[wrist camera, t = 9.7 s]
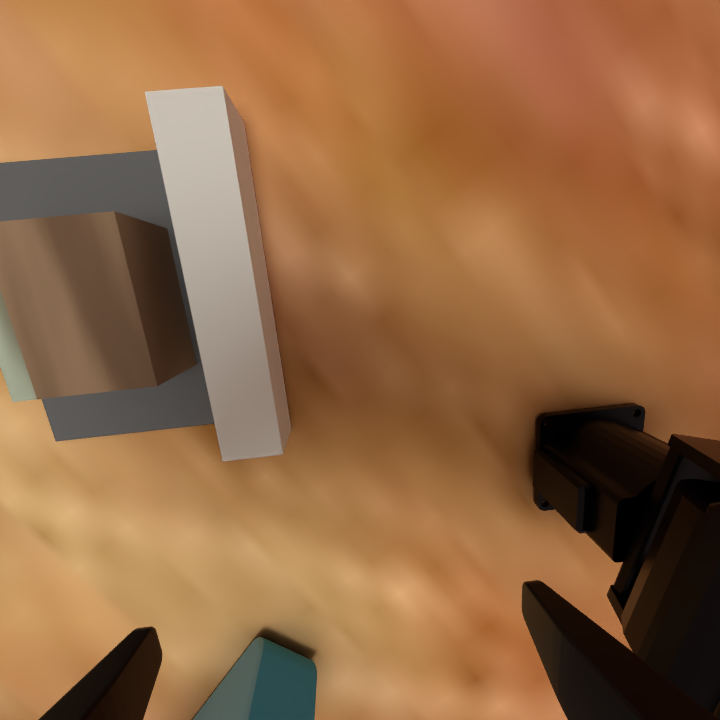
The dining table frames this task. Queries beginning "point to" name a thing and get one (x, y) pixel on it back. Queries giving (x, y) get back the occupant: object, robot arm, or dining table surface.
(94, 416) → the mat
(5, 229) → the block
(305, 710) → the data package
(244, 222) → the rail
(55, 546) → the dining table surface
